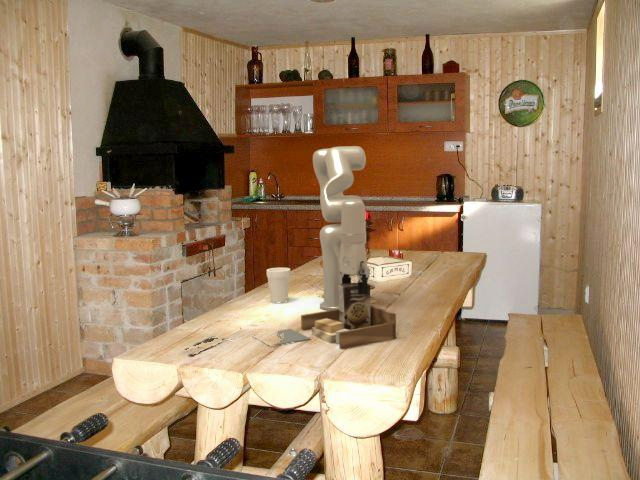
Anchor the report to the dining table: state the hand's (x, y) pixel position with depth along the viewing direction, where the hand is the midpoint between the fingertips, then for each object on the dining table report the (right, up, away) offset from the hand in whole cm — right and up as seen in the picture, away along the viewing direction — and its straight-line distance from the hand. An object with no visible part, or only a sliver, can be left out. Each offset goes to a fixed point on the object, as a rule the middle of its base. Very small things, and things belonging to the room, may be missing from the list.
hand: (354, 291), depth 210 cm
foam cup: (-27, -8, +50) cm, 57 cm away
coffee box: (0, -14, +3) cm, 14 cm away
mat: (-24, -15, -2) cm, 28 cm away
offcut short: (-8, -12, -2) cm, 15 cm away
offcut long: (-8, -15, -2) cm, 17 cm away
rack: (-2, -14, +1) cm, 14 cm away
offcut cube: (-3, -15, -9) cm, 18 cm away
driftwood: (-47, -17, -8) cm, 51 cm away
